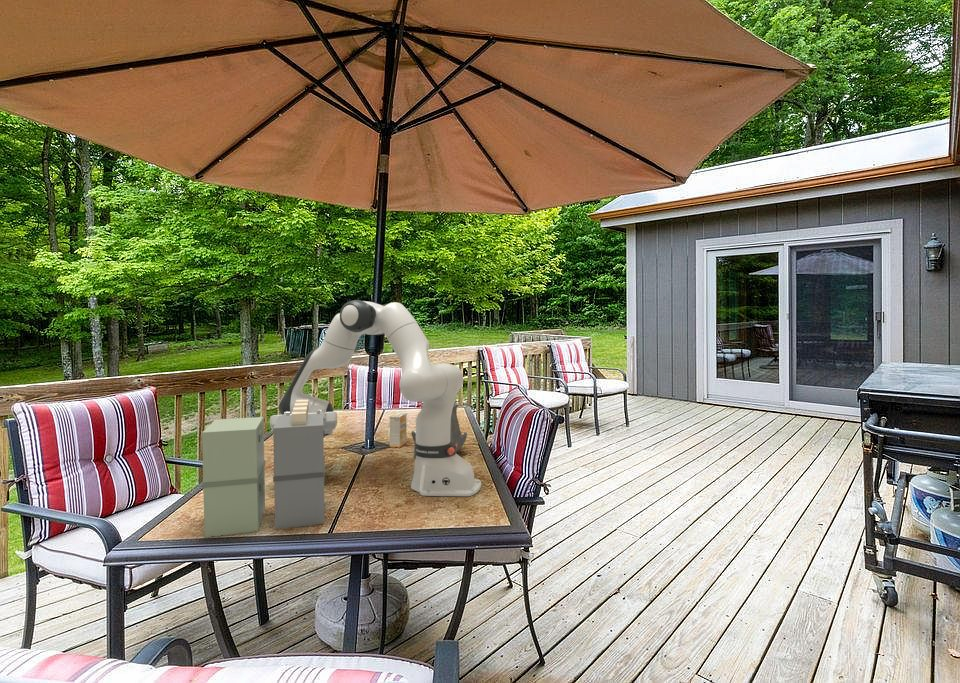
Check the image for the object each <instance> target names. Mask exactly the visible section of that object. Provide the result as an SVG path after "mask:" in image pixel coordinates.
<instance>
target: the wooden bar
mask: <svg viewBox="0 0 960 683" xmlns="http://www.w3.org/2000/svg"><path fill="white" fill-rule="evenodd" d="M308 411H309V399H303V400H296V402H295V405H294V408H293V411H292V425H306V422H307V416H308Z"/></svg>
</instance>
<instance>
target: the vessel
mask: <svg viewBox="0 0 960 683" xmlns="http://www.w3.org/2000/svg"><path fill="white" fill-rule="evenodd" d="M423 404H424V402H420V408H421V409H422V407H423ZM457 408H458V403H457V402H456V401H455V402H454V405H453V409H452V414H451V427H450V441H451V442H452V443H453V444H456V443H457V448H456V453H457V452H458V451H459V450H460V449H461V448H462V447H463V446H464V444H465V443H466V441H467V440H466V439H467V436H468V433H467V432H466V431H464V432H463V433H462V432H461V428H460V423H459V419H458V412H457V410H458V409H457ZM410 434H411V437H412V440H413V442H414V443H415V442H416V431H415V430H412V431H411V433H410Z"/></svg>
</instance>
